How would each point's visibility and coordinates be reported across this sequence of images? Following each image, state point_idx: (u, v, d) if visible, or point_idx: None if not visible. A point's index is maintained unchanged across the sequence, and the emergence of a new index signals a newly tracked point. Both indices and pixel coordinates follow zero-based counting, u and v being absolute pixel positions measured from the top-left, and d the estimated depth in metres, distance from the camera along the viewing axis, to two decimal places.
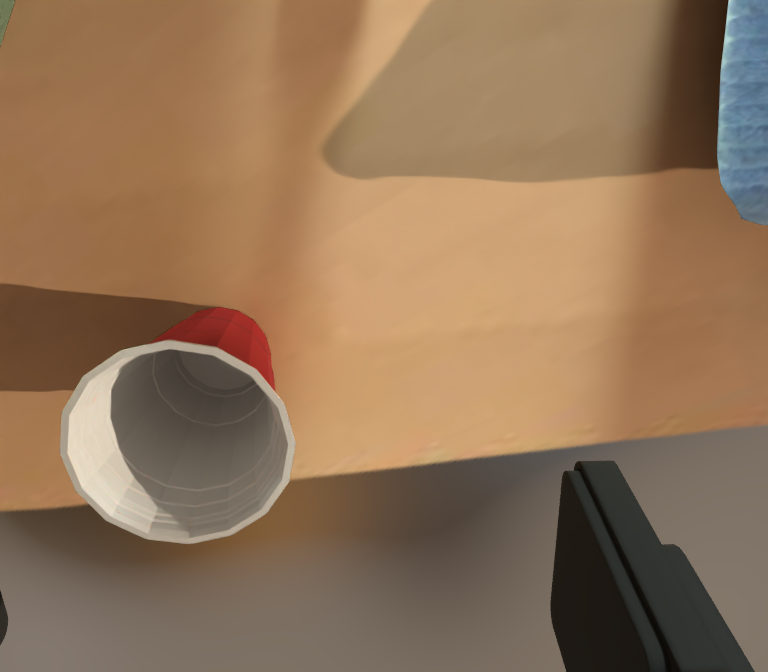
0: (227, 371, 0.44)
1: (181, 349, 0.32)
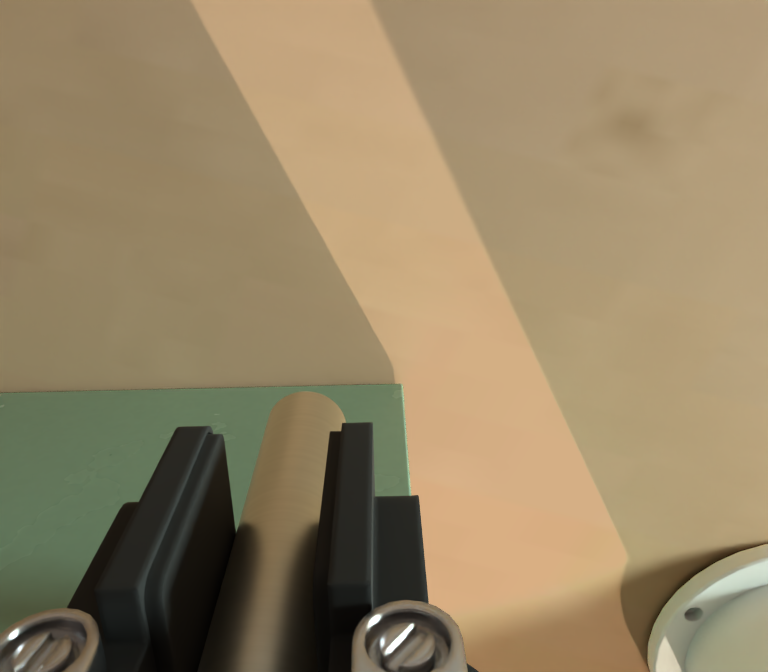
0: None
1: None
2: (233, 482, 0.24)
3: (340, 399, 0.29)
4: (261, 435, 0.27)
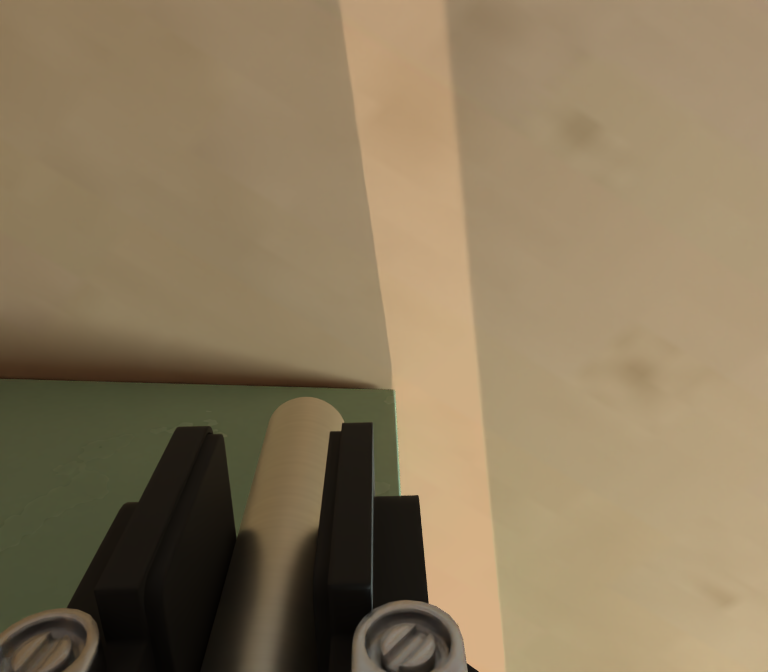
0: None
1: None
2: None
3: (332, 402, 0.29)
4: (253, 435, 0.27)
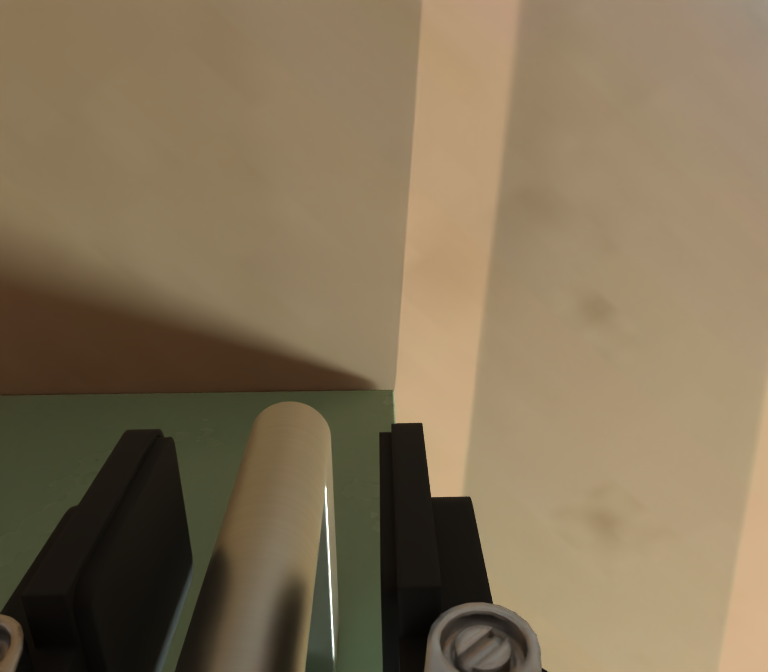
0: None
1: None
2: (220, 489, 0.24)
3: (330, 405, 0.29)
4: None
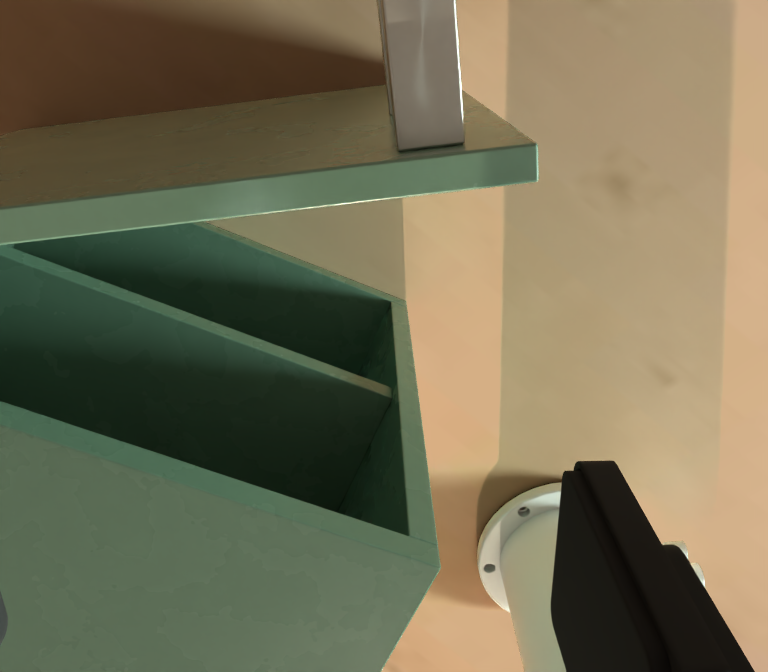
0: None
1: None
2: (334, 103, 0.33)
3: None
4: (346, 95, 0.36)
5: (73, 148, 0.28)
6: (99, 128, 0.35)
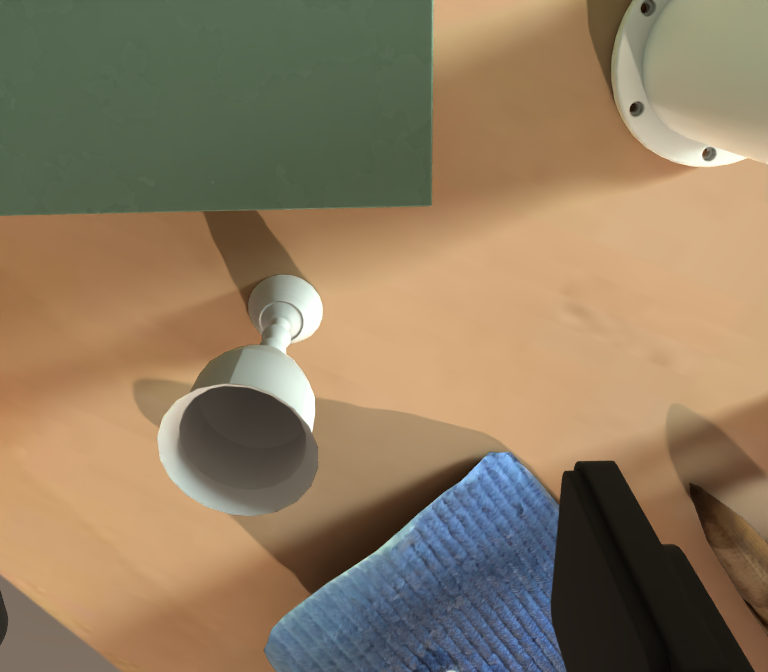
0: None
1: None
2: None
3: None
4: None
5: None
6: None
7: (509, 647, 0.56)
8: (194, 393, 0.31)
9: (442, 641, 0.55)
